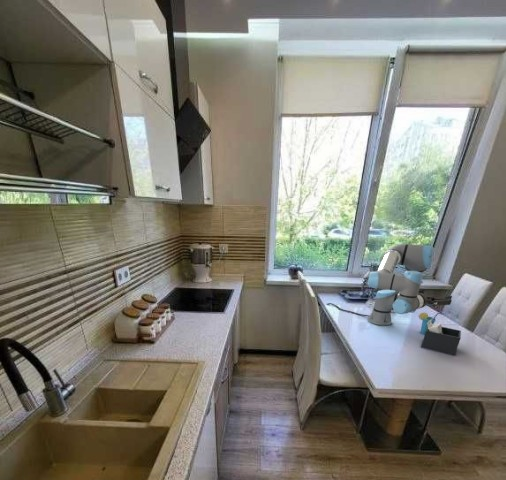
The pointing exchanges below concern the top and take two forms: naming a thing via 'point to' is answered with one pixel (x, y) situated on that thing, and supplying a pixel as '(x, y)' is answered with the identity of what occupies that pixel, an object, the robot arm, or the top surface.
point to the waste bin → (442, 340)
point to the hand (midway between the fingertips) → (436, 295)
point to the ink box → (434, 327)
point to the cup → (425, 319)
